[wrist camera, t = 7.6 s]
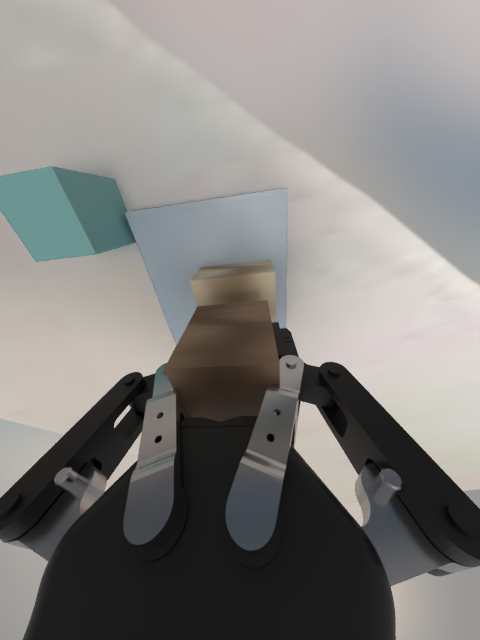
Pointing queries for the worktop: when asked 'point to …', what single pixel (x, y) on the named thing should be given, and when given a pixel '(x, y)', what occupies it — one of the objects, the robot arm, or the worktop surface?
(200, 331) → the block walnut
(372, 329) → the worktop surface
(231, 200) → the board
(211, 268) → the base block
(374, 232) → the worktop surface
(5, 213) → the block teal
